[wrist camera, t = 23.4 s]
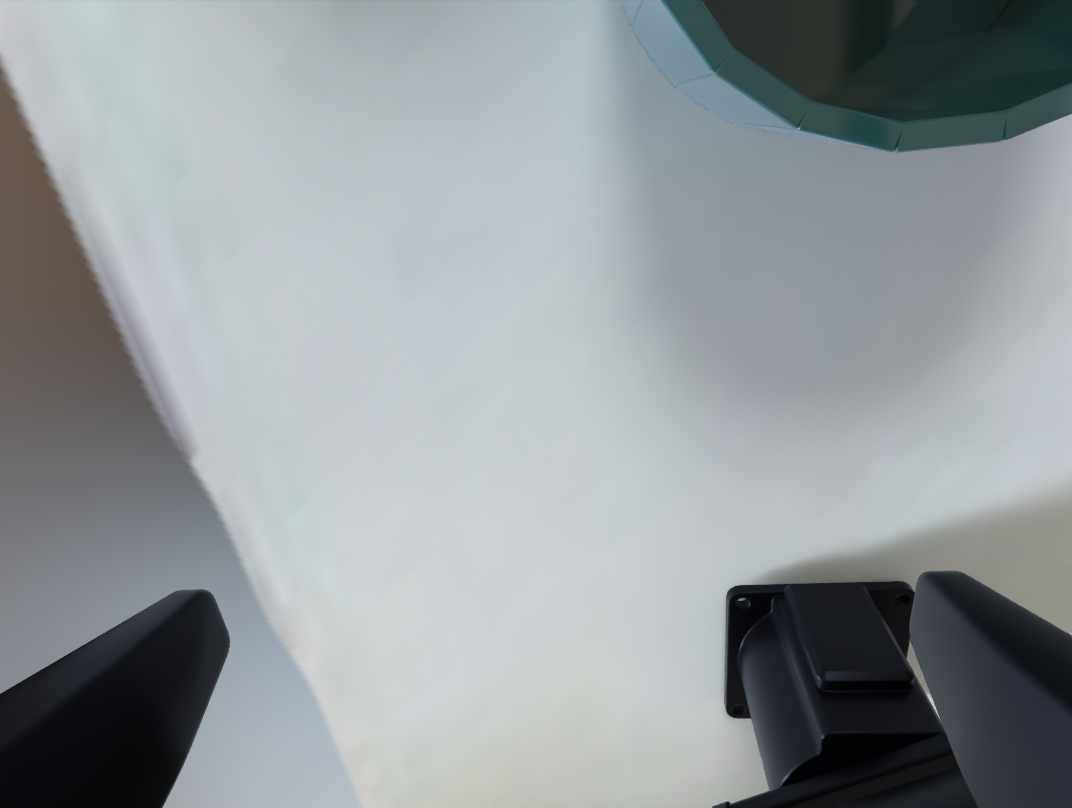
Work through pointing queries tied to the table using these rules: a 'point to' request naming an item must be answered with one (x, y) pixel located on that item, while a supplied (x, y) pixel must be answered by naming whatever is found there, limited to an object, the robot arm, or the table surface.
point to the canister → (867, 66)
